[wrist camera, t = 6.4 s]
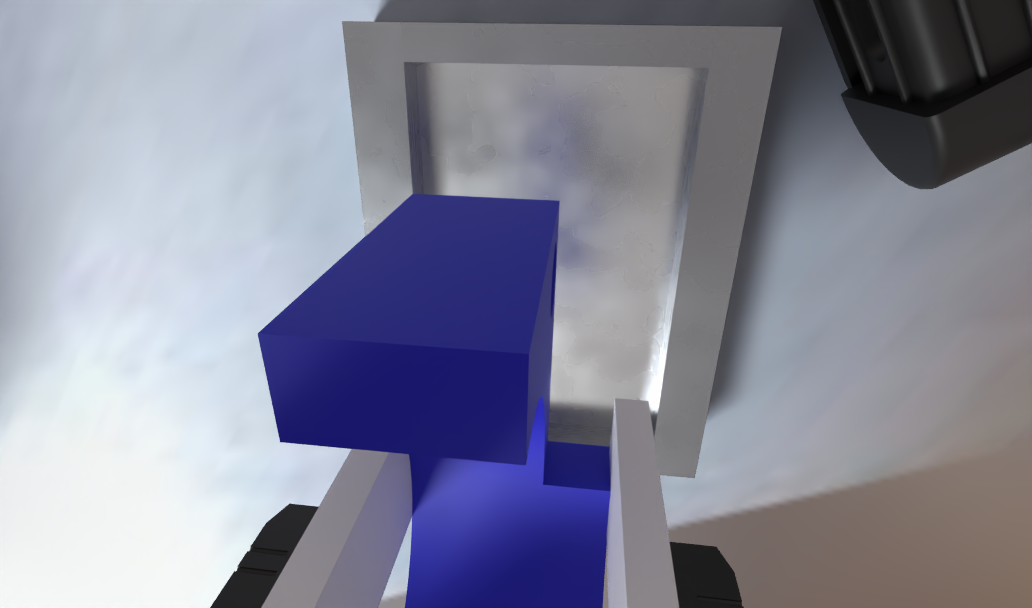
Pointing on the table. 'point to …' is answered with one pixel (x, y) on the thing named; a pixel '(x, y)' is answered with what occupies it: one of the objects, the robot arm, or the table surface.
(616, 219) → the grey tray
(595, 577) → the cable clip
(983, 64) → the end cap
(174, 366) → the table surface
